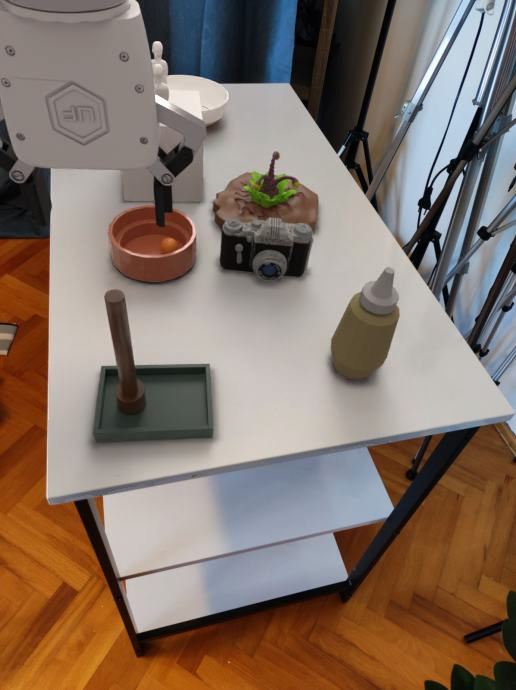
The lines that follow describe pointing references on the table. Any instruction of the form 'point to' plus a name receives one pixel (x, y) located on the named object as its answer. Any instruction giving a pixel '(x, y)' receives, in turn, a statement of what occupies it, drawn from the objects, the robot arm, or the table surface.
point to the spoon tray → (157, 404)
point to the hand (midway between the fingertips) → (104, 217)
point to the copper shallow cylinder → (151, 244)
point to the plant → (266, 199)
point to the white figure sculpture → (169, 144)
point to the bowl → (203, 95)
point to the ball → (168, 246)
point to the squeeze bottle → (366, 328)
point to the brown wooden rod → (124, 355)
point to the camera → (266, 247)
